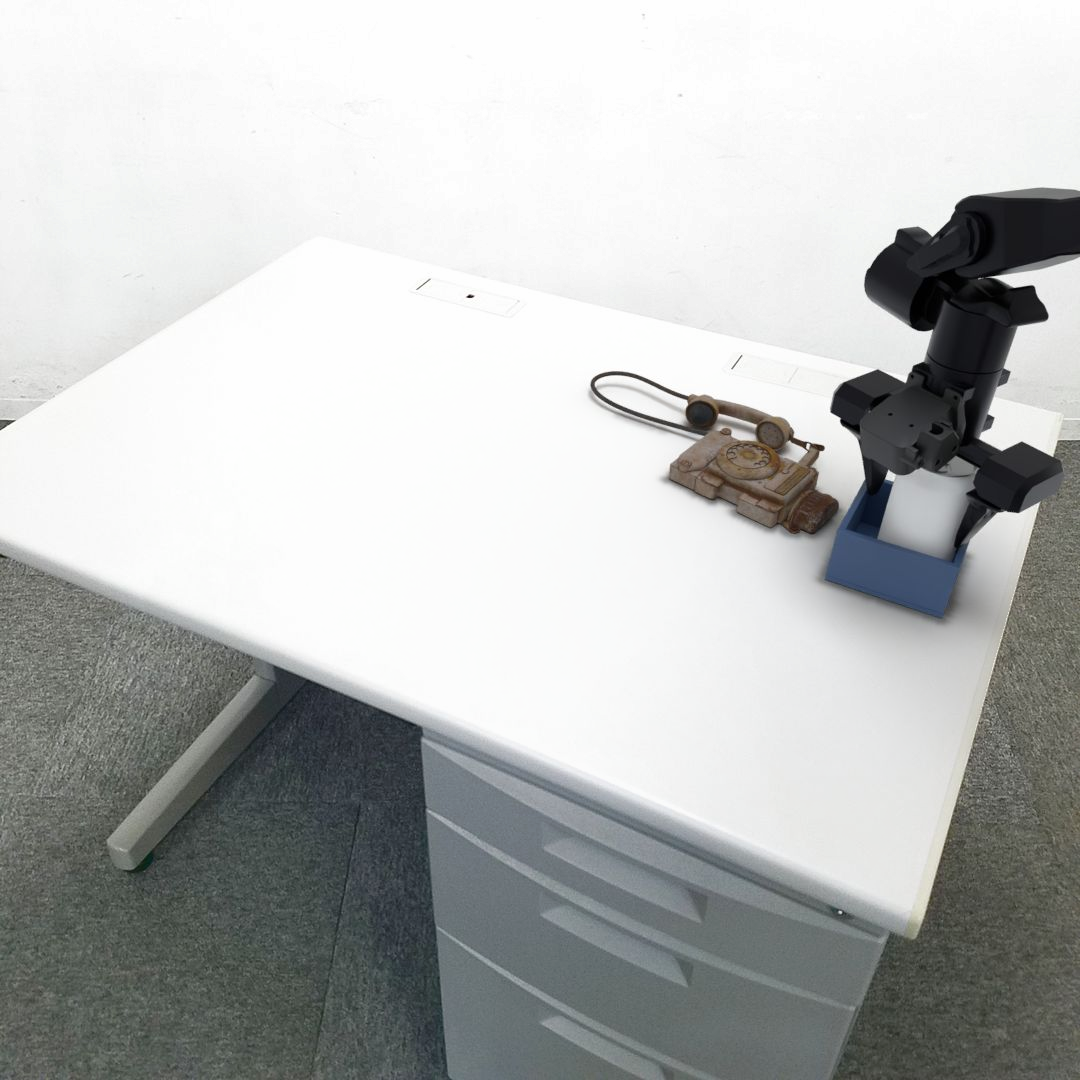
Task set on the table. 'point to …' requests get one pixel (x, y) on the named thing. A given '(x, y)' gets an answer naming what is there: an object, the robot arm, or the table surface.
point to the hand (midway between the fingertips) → (914, 519)
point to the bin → (888, 560)
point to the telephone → (745, 463)
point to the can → (928, 508)
